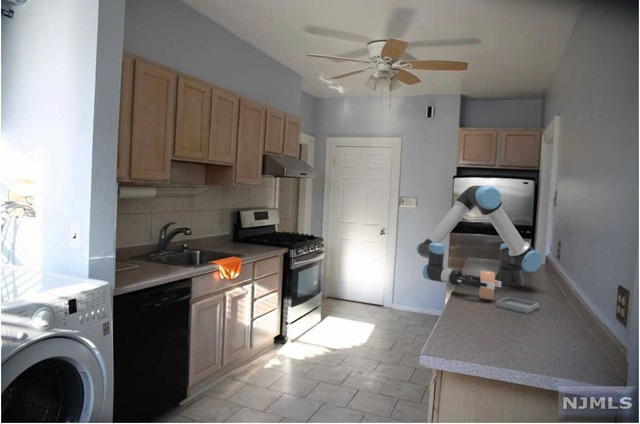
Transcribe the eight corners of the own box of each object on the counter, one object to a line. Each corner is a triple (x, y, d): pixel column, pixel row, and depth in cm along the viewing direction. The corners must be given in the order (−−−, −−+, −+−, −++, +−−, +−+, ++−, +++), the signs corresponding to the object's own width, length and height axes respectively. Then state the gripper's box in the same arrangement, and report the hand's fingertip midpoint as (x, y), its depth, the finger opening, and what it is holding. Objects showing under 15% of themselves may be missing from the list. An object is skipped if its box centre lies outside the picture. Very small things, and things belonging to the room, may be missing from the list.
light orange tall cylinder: (482, 294, 215) (484, 270, 214) (495, 297, 210) (497, 272, 210) (476, 296, 210) (478, 271, 210) (489, 299, 206) (491, 274, 205)
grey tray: (507, 301, 210) (508, 296, 210) (538, 308, 200) (539, 303, 200) (495, 306, 200) (495, 301, 200) (527, 314, 191) (527, 308, 190)
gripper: (461, 281, 230) (505, 290, 213) (442, 286, 216) (488, 296, 200) (462, 267, 229) (506, 275, 213) (442, 271, 216) (489, 280, 199)
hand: (497, 285), depth 206 cm, fingers closed on light orange tall cylinder, 6 cm apart
